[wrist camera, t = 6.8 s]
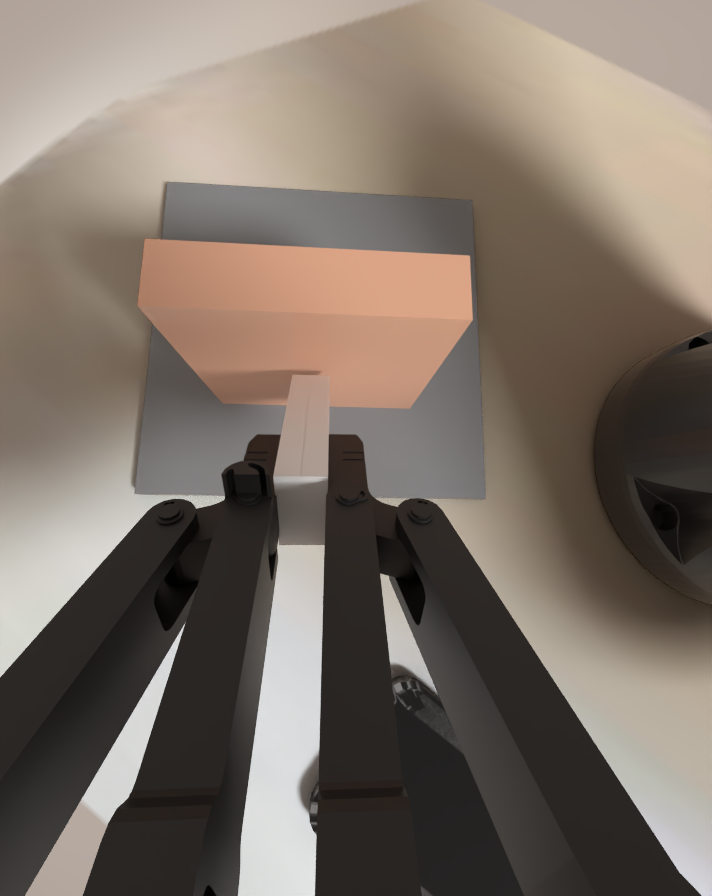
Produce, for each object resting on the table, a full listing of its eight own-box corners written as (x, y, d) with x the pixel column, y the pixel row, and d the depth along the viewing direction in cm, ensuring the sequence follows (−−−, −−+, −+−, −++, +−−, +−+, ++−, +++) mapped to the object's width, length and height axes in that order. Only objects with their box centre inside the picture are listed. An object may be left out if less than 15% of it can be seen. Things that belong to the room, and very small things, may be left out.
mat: (468, 207, 26) (472, 200, 25) (481, 499, 23) (485, 498, 22) (171, 189, 25) (167, 181, 24) (139, 494, 21) (134, 493, 21)
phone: (402, 670, 20) (659, 884, 19) (398, 663, 21) (641, 864, 20) (297, 822, 19) (569, 1061, 18) (298, 805, 20) (555, 1030, 19)
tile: (409, 366, 23) (469, 249, 13) (409, 408, 23) (472, 320, 13) (225, 360, 22) (145, 232, 13) (222, 403, 22) (137, 305, 12)
